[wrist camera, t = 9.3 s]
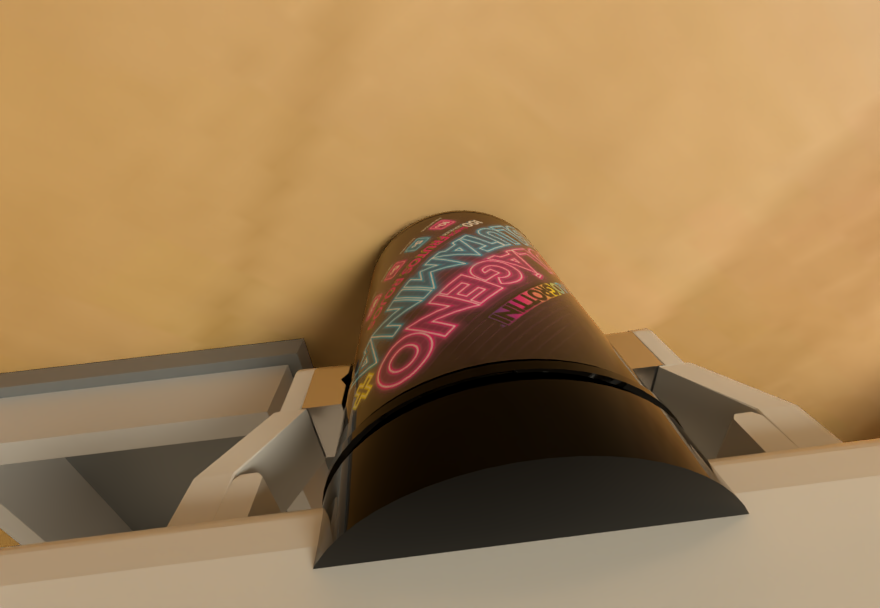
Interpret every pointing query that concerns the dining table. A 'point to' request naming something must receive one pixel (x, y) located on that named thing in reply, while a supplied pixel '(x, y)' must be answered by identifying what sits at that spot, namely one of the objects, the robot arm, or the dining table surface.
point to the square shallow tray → (132, 436)
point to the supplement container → (495, 411)
